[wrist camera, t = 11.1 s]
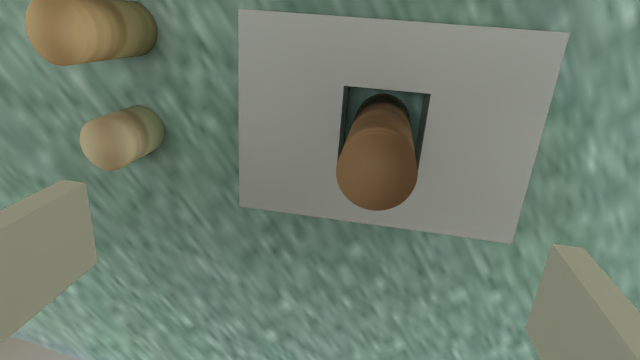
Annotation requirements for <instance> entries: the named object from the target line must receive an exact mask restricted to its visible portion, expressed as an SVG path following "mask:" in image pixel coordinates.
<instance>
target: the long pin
mask: <svg viewBox="0 0 640 360" xmlns="http://www.w3.org/2000/svg"><path fill="white" fill-rule="evenodd" d="M417 177H418V169H417V162H416V156H415V150H414V144H413V138H412V132H411V126H410V120H409V114H408V111H407V108H406V106H405V105H404V103H403V102H402V101H401V100H399V99H398V98H397V97H395V96H392V95H389V94H377V95H374V96H371V97H369V98H368V99H366V100H365V101H364V102H363V103H362V104H361V106H360V107H359V109H358V112H357V114H356V117H355V119H354V122H353V124H352V127H351V129H350V132H349V134H348V137H347V139H346V142H345V144H344V147H343V149H342V152H341V154H340V157H339V159H338V162H337V167H336V178H337V182H338V185H339V188H340V189H341V191H342V193H343V194H344V195H345V197H346V198H347V199H348V200H349V201H351V202H352V203H353V204H355V205H357V206H359V207H361V208H364V209H367V210H373V211H382V210H388V209H391V208H394V207H396V206H398V205H400V204H401V203H403V202H404V201H405V200H406V199H407V198H408V197H409V196H410V195H411V193H412V192H413V190H414V188H415V185H416V182H417Z"/></svg>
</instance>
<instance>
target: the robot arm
mask: <svg viewBox="0 0 640 360" xmlns="http://www.w3.org/2000/svg"><path fill="white" fill-rule="evenodd" d="M97 263H98V260H97V253H96V247H95V240H94V234H93V227H92V221H91V214H90V208H89V201H88V195H87V188H86V183H83V182H75V181H68V180H60V181H58V182H56V183H54V184H52V185H50V186H48V187H46V188H44V189H42V190H40V191H38V192H36V193H34V194H32V195H30V196H28V197H26V198H24V199H22V200H20V201H18V202H16V203H14V204H12V205H10V206H8V207H6V208H4V209H2V210H0V344H1V343H3V342H4V341H5V340H6V339H7V338H8V337H10V336H11V335H12V334H13V333H14V332H16V331H17V330H18V329H19V328H20V327H22V326H23V325H24V324H25V323H26V322H28V321H29V320H30V319H31V318H32V317H33V316H35V315H36V314H37V313H38V312H39V311H41V310H42V309H43V308H44V307H45V306H47V305H48V304H49V303H50V302H51V301H53V300H54V299H55V298H56V297H57V296H58V295H60V294H61V293H62V292H63V291H64V290H66V289H67V288H68V287H69V286H70V285H72V284H73V283H74V282H75V281H76V280H77V279H79V278H80V277H81V276H82V275H83V274H85V273H86V272H87V271H88V270H89V269H91V268H92V267H93V266H94V265H95V264H97ZM525 329H526V331H527V333H528V335H529V337H530V340H531V342H532V344H533V346H534V348H535V351H536V353H537V355H538V357H539V360H640V312H639V311H638V310H637V309H636V308H635V307H634V305H633V304H632V303H631V302H630V301H629V300H628V299H627V297H626V296H625V295H624V294H623V293H622V292H621V290H620V289H619V288H618V287H617V286H616V285H615V284H614V282H613V281H612V280H611V279H610V278H609V277H608V275H607V274H606V273H605V272H604V271H603V270H602V269H601V267H600V266H599V265H598V264H597V263H596V262H595V260H594V259H593V258H592V257H591V256H590V255H589V254H588V252H587V251H586V250H585V249H584V248H580V247H572V246H565V245H557V244H552V247H551V250H550V253H549V256H548V259H547V262H546V265H545V269H544V272H543V275H542V278H541V281H540V284H539V287H538V290H537V293H536V296H535V300H534V303H533V306H532V309H531V312H530V315H529V318H528V321H527V324H526V327H525Z"/></svg>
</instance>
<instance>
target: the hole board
mask: <svg viewBox="0 0 640 360" xmlns="http://www.w3.org/2000/svg"><path fill="white" fill-rule="evenodd" d="M569 35H570V33H566V32H552V31H538V30H525V29H511V28H497V27H483V26H469V25H455V24H442V23H428V22H414V21H400V20H386V19H372V18H359V17H345V16H331V15H317V14H303V13H290V12H276V11H262V10H248V9H238V88H239V207H246V208H254V209H261V210H268V211H276V212H283V213H290V214H298V215H305V216H312V217H320V218H327V219H334V220H342V221H349V222H356V223H364V224H371V225H378V226H386V227H393V228H400V229H408V230H415V231H422V232H430V233H437V234H444V235H452V236H459V237H466V238H474V239H481V240H488V241H496V242H503V243H510V244H512V242H513V238H514V235H515V231H516V228H517V224H518V220H519V217H520V213H521V209H522V206H523V202H524V198H525V195H526V191H527V188H528V184H529V180H530V177H531V173H532V169H533V166H534V162H535V159H536V155H537V151H538V148H539V144H540V140H541V137H542V133H543V129H544V126H545V122H546V119H547V115H548V111H549V108H550V104H551V100H552V97H553V93H554V90H555V86H556V82H557V79H558V75H559V71H560V68H561V64H562V60H563V57H564V53H565V50H566V46H567V42H568V39H569ZM349 86H352V87H363V88H374V89H384V90H395V91H405V92H416V93H425V96H424V103H423V109H422V115H421V121H420V127H419V134H418V140H417V146H416V152H415V156H416V162H417V169H418V177H417V182H416V185H415V188H414V190H413V192H412V193H411V195H410V196H409V197H408V198H407V199H406V200H405V201H404V202H403V203H401V204H400V205H398V206H396V207H394V208H391V209H388V210H382V211H373V210H367V209H364V208H361V207H359V206H357V205H355V204H353V203H352V202H351V201H349V200H348V199H347V198H346V197H345V195H344V194H343V193H342V191H341V189H340V188H339V185H338V182H337V178H336V167H337V162H338V159H339V157H340V154H341V152H342V149H343V146H344V135H345V124H346V114H347V103H348V92H349Z"/></svg>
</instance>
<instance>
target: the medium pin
mask: <svg viewBox="0 0 640 360" xmlns="http://www.w3.org/2000/svg"><path fill="white" fill-rule="evenodd" d="M25 27H26V32H27V35H28V38H29V40H30V42H31V44H32V46H33V47H34V49H35V50H36V51H37V52H38V54H39V55H40V56H42V57H43V58H44V59H45V60H47V61H49V62H50V63H53V64H56V65H60V66H66V65H74V64H81V63H89V62H96V61H104V60H111V59H119V58H126V57H134V56H141V55H145V54H147V53H148V52H150V51H151V50H152V48H153V47H154V45H155V43H156V39H157V27H156V23H155V21H154V18H153V17H152V15H151V13H150V12H149V11H148V10H147V9H146V8H145V7H144V6H142V5H141V4H139V3H136V2H132V1H121V0H33V1H32V2H31V3H30V5H29V7H28V9H27V11H26V15H25Z"/></svg>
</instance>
